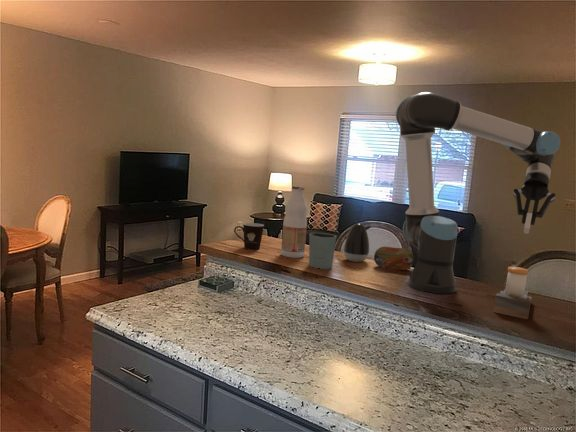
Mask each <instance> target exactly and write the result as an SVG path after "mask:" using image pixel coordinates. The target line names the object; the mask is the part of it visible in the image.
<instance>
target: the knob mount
mask: <svg viewBox="0 0 576 432" xmlns="http://www.w3.org/2000/svg"><path fill="white" fill-rule="evenodd" d="M505 290H506V287H504V290H500V292H499V293H498V292H497V293H496V294H495V299H494V306H493V313H496V314H501V315H505V316H510V317H515V318H518V319H519V318H520V319H525V320H529V313H530V309H531V303H532V296H528V295H529V293H528V292H529V291H526V290H525V291H524V297H523V298H519V297H520V296H517V295H512V294H508V295H505Z"/></svg>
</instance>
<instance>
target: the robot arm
mask: <svg viewBox="0 0 576 432" xmlns="http://www.w3.org/2000/svg"><path fill="white" fill-rule="evenodd" d="M395 118H396V119H395V120H396V122H397V124H398V125H399V128H400V129H399V130H400V137H401V138H402V139H403V140H404V141H405V153H406V154H405V155H406V170H407V174H406V175H407V188H408V189H407V190H408V191H407V192H408V202H409V203H408V204H409V205H408V206H409V207H408V208H407V210H406V211H405V220H404V222H403V226H402V234H403V237H404V239H405V240H406V241H407V242H408V243H409V244H410V245H411V246H413V247H415V248H417V253H416V254H417V255H416V263H415V264H414V267H413V269H412V271H411V274H410V276H409V277H408V285H409V286H410V287H411V288H413V289H416V290H419V291H421V292H422V291H423V292H427V293H431V294H443V295H445V294H453V293H455V292H456V288H457V287H456V286H457V283H456V281H455V274H454V268H453V267H454V259H455V252H456V244H457V236H458V234H459V233H458V223H457V222H456V221H455V220H453V219H450V218H448V217H444V216H440V210H439V209H438V208H437V207H436V206H435V195H434V193H435V192H434V179H433V178H434V177H433V158H432V157H433V156H432V137H433V136H434V135H435V134H436V129H441V130H445V131H450V130H456V131H459V132H463V133H465V134H468V135H472V136H475V137H479V138H482V139H485V140H488V141H492V142H494V143H499V144H501V145H503V147H505V148H506V149H507V151H510V152H511V153H512V154H513V155H515V156H516V157H518V158H519V159H521V160H522V161H523V162H525V163H526V164H527V168H526V173H525V178H524V182H523V185H522V187H520V188H519V189H518V188H514V189H513V196H514V198H515V201H516V202H515V203H516V212H517V215H518V216H522V217H521V224H523V225H524V227H523V234H528V235H529V234H530V230H531V226H535V224H536V219H537V218H539V219H540V218H542V219H543V216H544V214H545V213H546V211H547V209H548V208H549V206H550V205H551V203H553V202H554V201H555V199H556V193H554V192H553V193H551V192H550V190H549V189H548V188H549V183H550V180H551V173H552V167H553V164H554V160H555V153H556V152H558V150H559V149H560V146H561V138H560V136H559V135H558V134H557V133H556V132H555V131H549V130H546V131H545V130H544V131H542V130H539V129H536V128H532V127H529V126H526V125H523V124H519V123H517V122H513V121H511V120H507V119H504V118H501V117H498V116H495V115H492V114H488V113H485V112H482V111H479V110H475V109H473V108H470V107H467V106H463V105H462V104H461V101H458V100H454V99H452V98H450V97H447V96H444V95H441V94H438V93H436V92H430V91H424V92H420V93H417V94H413V95H410V96H408V97H406V98H405V99H403V100H402V101H401V102H400V103H399V104H398V106H397V107H396V111H395ZM522 195H523V197H525V203H524V208H523V206H522V205H523V204H522V198H521V196H522ZM544 198H546V199H544ZM542 199H544V202H543V203H542V206H541V207H540V209H538V208H539V203H540V201H541V200H542ZM531 201H534V202H533V207H532V208H533V209H532V213H531V212H529V209H530V205H531Z"/></svg>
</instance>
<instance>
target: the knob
mask: <svg viewBox="0 0 576 432" xmlns="http://www.w3.org/2000/svg"><path fill="white" fill-rule="evenodd" d="M528 275H529V269H527V268H524V267H519V266H508V267H507V276H506V284H505V288H506V290H505V295H508V294H512V295H517V296H520V297H519V298H523V297H524V291H526V283H527V279H528V278H527V277H528Z"/></svg>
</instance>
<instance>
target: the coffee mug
mask: <svg viewBox="0 0 576 432" xmlns="http://www.w3.org/2000/svg"><path fill="white" fill-rule="evenodd" d="M242 225H243V226H241V225H238V226H235V227H234V230H233V232H234V234H235V235H236V237H238V239H240V240H241V241H242V242H243V243H244V244H243V245H244V247H243V248H244V249H245V250H249V249H250V250H251V251H258V250H260V248H261V243H262V238H263V233H264V227H265V224H262V223H256V222H255V223H254V222H245V223H243V224H242ZM238 228H240V229H241V230H242V231H243V237H241V236H240V235H239V234H238V233H237V231H236V229H238Z"/></svg>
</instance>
